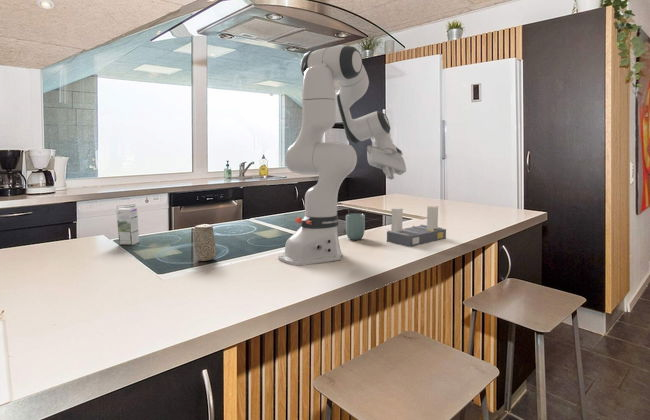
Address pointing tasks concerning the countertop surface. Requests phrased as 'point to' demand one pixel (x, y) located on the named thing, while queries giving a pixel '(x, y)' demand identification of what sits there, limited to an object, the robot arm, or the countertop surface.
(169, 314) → the countertop surface
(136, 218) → the syrup box
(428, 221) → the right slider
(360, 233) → the cup
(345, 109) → the robot arm
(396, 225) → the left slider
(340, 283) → the countertop surface
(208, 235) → the carving
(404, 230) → the switch console
